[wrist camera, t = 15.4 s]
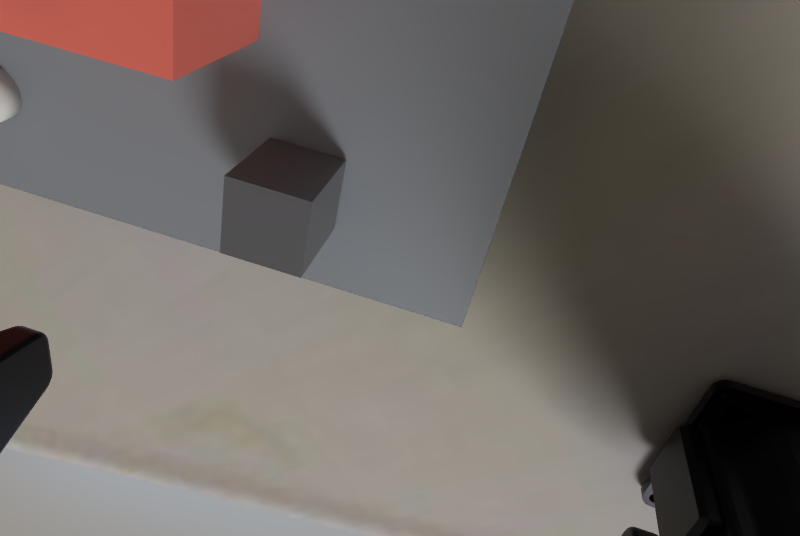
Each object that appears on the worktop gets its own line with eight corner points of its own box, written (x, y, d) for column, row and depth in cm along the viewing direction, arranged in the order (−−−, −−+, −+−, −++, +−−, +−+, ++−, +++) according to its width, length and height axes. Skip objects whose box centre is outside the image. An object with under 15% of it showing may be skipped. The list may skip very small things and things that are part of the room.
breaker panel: (630, -177, 14) (642, -189, 12) (467, 302, 22) (457, 345, 20) (-77, -349, 15) (-177, -388, 13) (4, 160, 23) (-51, 186, 21)
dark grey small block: (346, 159, 18) (312, 201, 16) (334, 228, 19) (300, 277, 17) (270, 137, 18) (224, 175, 16) (263, 207, 20) (219, 252, 17)
